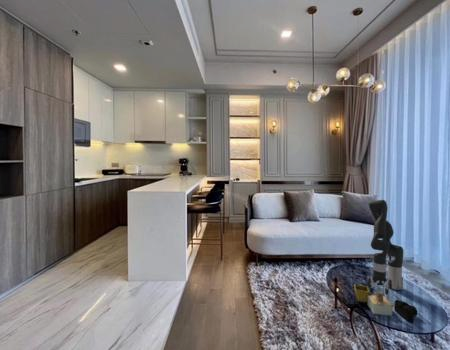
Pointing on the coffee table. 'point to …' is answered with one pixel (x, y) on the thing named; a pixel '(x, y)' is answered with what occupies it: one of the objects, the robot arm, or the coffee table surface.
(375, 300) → the lid
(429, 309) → the coffee table surface
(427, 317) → the coffee table surface
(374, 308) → the pale green open box
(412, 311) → the film camera
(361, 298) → the flower pot
